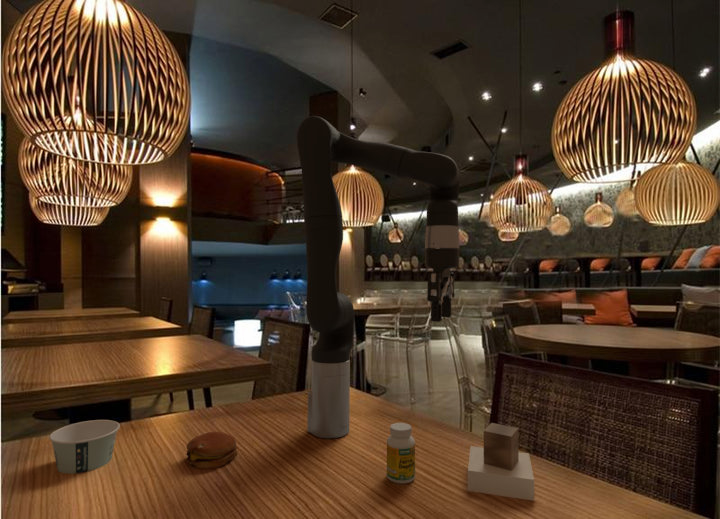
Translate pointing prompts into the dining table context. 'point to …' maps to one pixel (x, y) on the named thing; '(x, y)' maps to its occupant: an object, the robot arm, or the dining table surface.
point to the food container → (84, 445)
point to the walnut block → (501, 446)
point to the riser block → (500, 476)
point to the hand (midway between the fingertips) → (441, 319)
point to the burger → (211, 450)
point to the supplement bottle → (400, 454)
